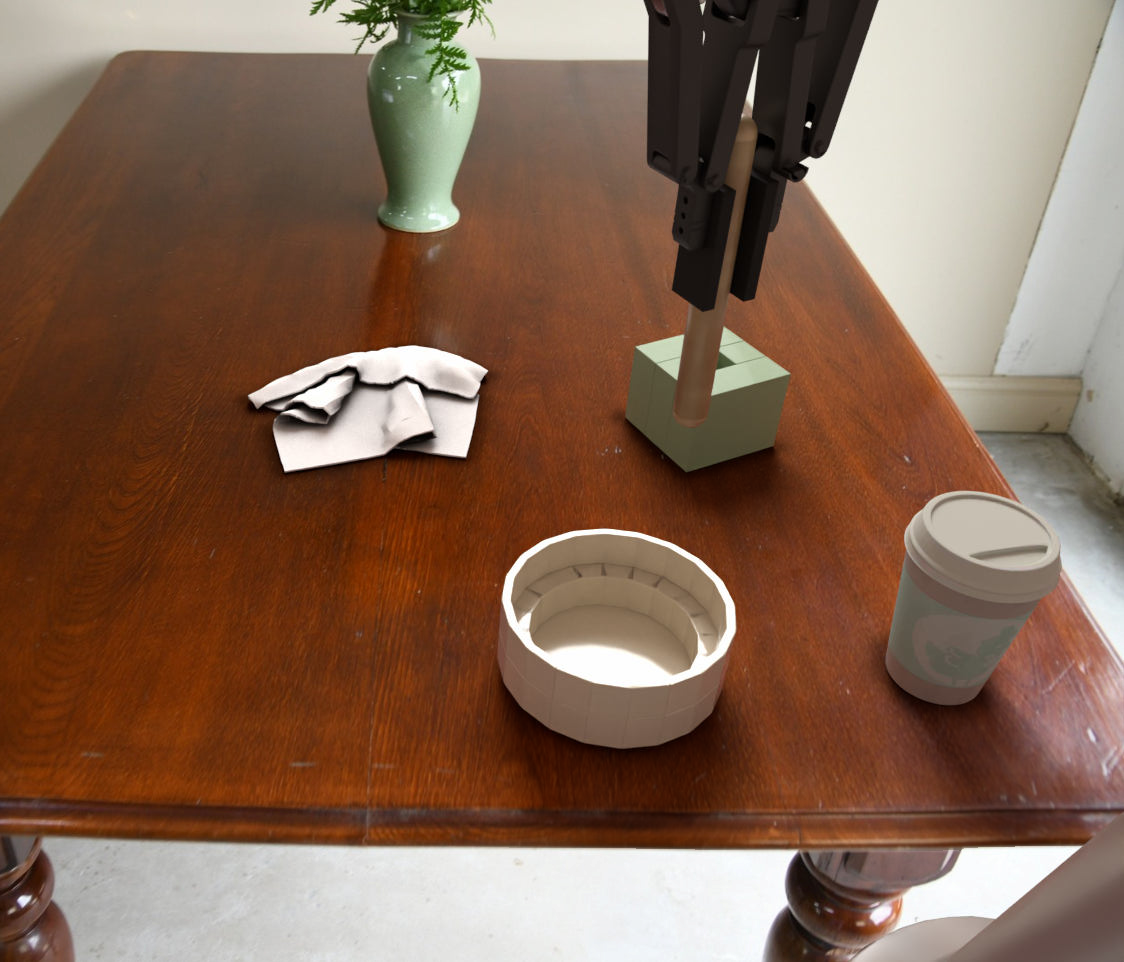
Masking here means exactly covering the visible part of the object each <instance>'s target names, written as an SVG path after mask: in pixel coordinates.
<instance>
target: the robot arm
mask: <svg viewBox="0 0 1124 962" xmlns="http://www.w3.org/2000/svg"><path fill="white" fill-rule="evenodd" d="M879 1H880V0H643V3H644V6H645V10H646V13H647V17H648V21H647V22H648V23H647V24H648V25H647V26H648V28H647V29H648V30H647V31H648V33H647V102H646V103H647V104H646V105H647V106H646V108H647V109H646V110H647V111H646V113H647V114H646V115H647V117H646V163H647V166H648V167H649V168H650V169H651V170H654V171H655V172H657V173H658V174H660V175H662V176H664V177H665V178H666V179H669V180H670V181H672V182H673V183H675V184H677V185H678V187H677V188H678V189H677V195H676V202H675V208H674V214H673V221H672V226H671V227H672V228H671V235H672V239H673V241H674V242H676V243H677V244H678V248H677V255H676V261H675V266H674V273H673V280H672V284H671V285H672V286H671V291H672V292H673V293H675V294H676V295H677V296H679V297H681V299H683V300H685V301H686V302H688V304H689V303H690V304H692V305H693V306H695V307H696V308H697V309H699V310H700V311H702V312H705V311H709V310H713V309H714V308H715V302H716V297H717V292H718V287H719V281H720V276H721V271H722V265H723V260H724V255H725V249H726V244H727V239H728V233H729V228H730V223H731V217H732V212H733V207H734V201H735V196H736V190H735V189H733V188H731V187H729V186H728V185H726V184H724V181H725V178H726V174H727V171H728V167H729V163H730V159H731V155H732V151H733V147H734V143H735V140H736V136H737V132H738V128H739V124H740V120H741V116H742V114H744V113H743V112H744V109H745V106H746V105H745V104H746V100H747V96H748V94H749V93H748V92H749V88H750V85H751V81H752V77H753V73H754V69H755V66H757V67H756V75H755V82H754V83H755V84H754V94H753V101H752V102H753V103H752V110H751V118H752V119H753V120H754V122H755V123H756V126H757V130H758V135H757V142H756V147H755V153H754V159H753V164H752V170H751V176H750V181H749V187H748V192H747V198H746V204H745V209H744V215H743V221H742V226H741V232H740V238H739V243H738V249H737V254H736V260H735V266H734V271H733V277H732V283H731V288H730V294H731V295H732V296H733V297H735V298H736V299H738V300H740V301H741V302H743V303H746V302H748V301H753V300H755V299H756V295H757V291H758V285H759V282H760V276H761V272H762V266H763V262H764V256H765V253H766V247H767V243H768V238H769V233H774V231H775V229H776V228H777V225H778V224H779V221H780V217H781V211H782V207H783V202H784V198H785V194H786V193H785V192H786V189H787V188H786V187H787V183H788V181H790V182H792V183H794V184H795V183H799V182H801V181H803V179H804V178H806V177H807V174H808V173H809V169H810V167H808V166H807V165H805V164H802V163H801V162H803V161H805V160H806V159H808V158H812V159H813V160H818V159H821V158H822V157H823V156H824V155H826V153H827V151H828V149H829V148H830V145H831V142H832V139H833V136H834V134H835V130H836V127H837V125H838V121H839V119H840V115H841V113H842V110H843V106H844V104H845V101H846V98H847V95H848V92H849V89H850V86H851V84H852V80H853V77H854V74H855V72H856V69H857V66H858V62H859V59H860V57H861V54H862V51H863V48H864V45H865V42H866V38H867V37H868V33H869V30H870V28H871V25H872V21H873V19H874V15H875V12H876V10H877V7H878V3H879ZM703 4H704V6H703V10H702V5H703ZM757 57H758V58H757ZM756 62H757V65H756ZM808 123H810V124H811V125H810V126H807V124H808ZM847 962H1124V811H1122V812H1121V813H1120V814H1119V815H1118V816H1116V817H1115V818H1114V819H1113V820H1112V821H1110V822H1109V823H1108V824H1107V825H1106V826H1105V827H1103V828H1102V829H1101V830H1100V831H1099V832H1098V833H1096V834H1095V835H1094V836H1093V837H1091V838H1090V839H1089V840H1088V841H1086V843H1085V844H1083V845H1082V846H1080V848H1078V849H1077V850H1076V851H1075V852H1073V853H1072V854H1071V855H1070V856H1069V857H1067V859H1065V860H1064V861H1063V862H1062V863H1060V864H1059V865H1058V866H1057V867H1056V868H1055V869H1053V870H1052V871H1051V872H1049V874H1047V875H1046V876H1045V877H1044V878H1043V879H1042V880H1040V881H1039V882H1037V883H1036V885H1034V886H1033V887H1032V888H1030V889H1029V890H1028V891H1027V892H1026V893H1025V894H1023V895H1022V896H1021V897H1020V898H1018V900H1016V901H1015V902H1014V903H1012V905H1011V906H1009V907H1008V908H1007V909H1006V910H1004V912H1002V913H1000V914H999V915H998V916H997V917H996V918H993V917H992V918H991V917H983V916H975V915H965V916H963V915H962V916H945V917H939V918H933V919H925V920H922V921H919V922H915V923H911V924H909V925H906V926H902V927H900V928H897V929H895V930H893V931H892V932H889V933H887V934H885V935H883V936H881V937H879V938H877V939H875V940H873V941H871V942H870V943H868V944H867V945H865V946H864V947H863V948H861V949H860V950H859V951H858V952H856V953H855V954H854V955H853V956H852V957H851V958H850V959H849V960H848V961H847Z"/></svg>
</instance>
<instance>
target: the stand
mask: <svg viewBox="0 0 1124 962" xmlns="http://www.w3.org/2000/svg"><path fill="white" fill-rule="evenodd" d="M683 339H684V333H683V334H680V335H675V336H672V337H667V338H663V339H659V340H655V341H652V342H648V343H644V344H640V345H636V346H634V351H633V358H632V365H631V371H630V379H629V387H628V393H627V400H626V406H625V414H624V418H625V419H626V420H627V421H629V423H631V424H632V425H633V426H634V427H635V428H636V429H637V430H638V431H640V433H642V434H643V435H644V436H645V437H646V438H647V439H648V440H649V441H650V442H651V443H653V444H654V445H655V446H656V447H657V448H658V449H660V451H662V452H663V453H664V454H665V455H666V456H667V457H668V458H670V459H671V460H672V461H673V462H674V463H675V464H676V465H677V466H679V468H681V469H682V470H683V471H684V472H685V473H689V472H692V471H695V470H698V469H702V468H706V467H709V466H713V465H715V464H718V463H722V462H726V461H728V460H729V461H730V460H733V459H736V458H738V457H742V456H746V455H749V454H752V453H755V452H758V451H762V450H765V449H768V448H771V447H774V445H775V442H776V437H777V433H778V429H779V425H780V422H781V416H782V413H783V409H784V405H785V400H786V396H787V392H788V389H789V388H788V387H789V384H790V380H791V375H792V374H791V372H789V371H788V370H787V369H785V368H783V367H782V366H780V365H779V364H778V363H777V362H775V361H774V360H772V359H771V358H769V357H768V356H766V355H765V354H763V353H762V352H761V351H759V350H758V349H756V348H755V347H754V346H752V345H751V344H750V343H748V342H747V341H745V340H744V339H743V338H741V337H739V336H738V335H737V334H735V333H734V332H732V330H730V329H728V328H727V327H726V326H724V328H723V333H722V339H721V344H720V350H719V356H718V361H717V367H716V373H715V378H714V384H713V389H712V395H711V401H710V406H709V412H708V416H707V418H706V420H705V421H704V422H703V423H702V424H701V425H699V426H698V427H694V428H686V427H683V426H681V425H680V424H678V423H677V422H676V420H675V418H674V416H673V404H674V397H675V391H676V385H677V378H678V372H679V365H680V359H681V352H682V346H683Z"/></svg>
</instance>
